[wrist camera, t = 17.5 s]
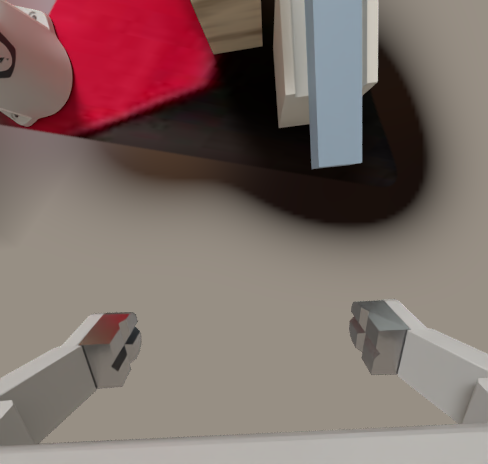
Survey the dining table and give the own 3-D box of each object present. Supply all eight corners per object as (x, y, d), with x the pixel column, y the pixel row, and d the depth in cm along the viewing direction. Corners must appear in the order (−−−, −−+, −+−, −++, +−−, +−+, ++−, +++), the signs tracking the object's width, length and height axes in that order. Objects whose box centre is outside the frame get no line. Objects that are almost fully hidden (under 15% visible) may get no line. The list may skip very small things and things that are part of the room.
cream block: (333, 120, 39) (377, 81, 24) (278, 128, 40) (285, 95, 25) (331, 37, 37) (379, -68, 21) (273, 47, 38) (276, -46, 22)
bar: (348, 165, 27) (362, 162, 23) (311, 169, 27) (318, 167, 23) (345, -80, 22) (361, -135, 18) (301, -70, 23) (308, -122, 19)
